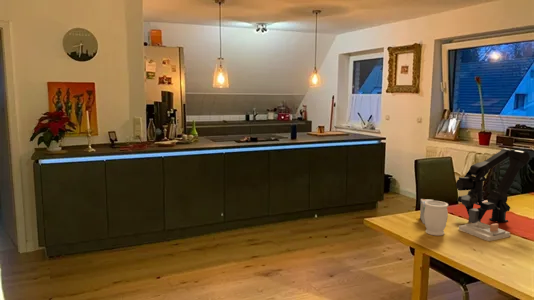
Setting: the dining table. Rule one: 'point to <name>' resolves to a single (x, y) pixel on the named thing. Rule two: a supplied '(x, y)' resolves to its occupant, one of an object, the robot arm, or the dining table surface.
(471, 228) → the socket plate
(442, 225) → the jar
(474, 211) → the plug
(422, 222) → the light bulb box
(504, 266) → the dining table surface
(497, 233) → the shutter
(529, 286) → the dining table surface
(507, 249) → the dining table surface
